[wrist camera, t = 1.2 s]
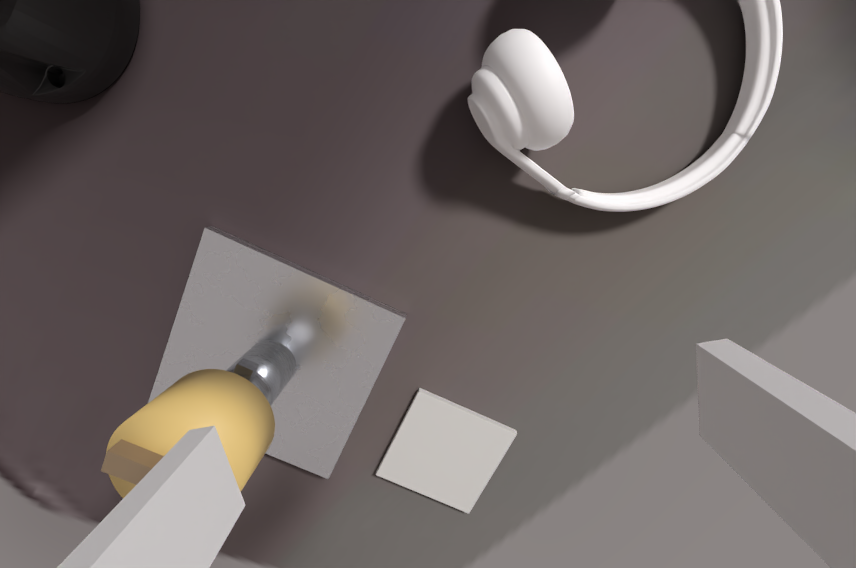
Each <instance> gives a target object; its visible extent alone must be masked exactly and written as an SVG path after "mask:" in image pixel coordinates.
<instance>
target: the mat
mask: <svg viewBox="0 0 856 568" xmlns="http://www.w3.org/2000/svg"><path fill="white" fill-rule="evenodd" d="M516 435H517V432H516V430H515V429H513V428H510V427H508V426H506V425H503V424H501V423H499V422H497V421H494V420H492V419H490V418H488V417H485V416H483V415H481V414H478V413H476V412H474V411H472V410H469V409H467V408H465V407H462V406H460V405H458V404H456V403H453V402H451V401H449V400H447V399H444V398H442V397H440V396H437V395H435V394H433V393H431V392H428V391H426V390H424V389H421V388H419V389H418V391H417V393H416V395H415V397H414V399H413V401H412V403H411V405H410V407H409V409H408V411H407V413H406V415H405V417H404V419H403V421H402V422H401V424H400V426H399V428H398V430H397V432H396V434H395V436H394V438H393V440H392V442H391V444H390V446H389V448H388V450H387V452H386V454H385V455H384V457H383V459H382V461H381V463H380V465H379V467H378V469H377V471H376V475H377V476H380V477H382V478H384V479H387V480H389V481H392V482H394V483H396V484H399V485H401V486H404V487H406V488H408V489H411V490H413V491H416V492H418V493H420V494H423V495H425V496H428V497H430V498H432V499H435V500H437V501H440V502H442V503H444V504H447V505H449V506H452V507H454V508H456V509H459V510H461V511H464V512H466V513H468V514H469V513H470V511H471V509H472V508H473V506H474V504H475V503H476V501H477V499H478V498H479V496H480V494H481V493H482V491H483V489H484V488H485V486H486V484H487V483H488V481H489V479H490V478H491V476H492V475H493V473H494V471H495V470H496V468H497V466H498V465H499V463H500V461H501V460H502V458H503V456H504V455H505V453H506V451H507V450H508V448H509V446H510V445H511V443H512V442H513V440H514V438H515V437H516Z"/></svg>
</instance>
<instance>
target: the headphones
mask: <svg viewBox="0 0 856 568" xmlns="http://www.w3.org/2000/svg"><path fill="white" fill-rule="evenodd" d="M738 1H739V4H740V7H741V11H742V15H743V20H744V26H745V34H746V59H745V68H744V75H743V80H742V85H741V89H740V93H739V96H738V100H737V103H736V106H735V108H734V111H733V113H732V116H731V118H730V120H729V122H728V124H727V126H726V128H725V130H724V132H723V133H722V135H721V136H720V137H719V138H718V139H717V140H716V142H715V143H714V144H713V145H712V146H711V147H710V148H709V149H708V150H707V151H706V152H705V153H704V154H703V155H702V156H701V157H700V158H699V159H697V160H696V161H695V162H694V163H692V164H691V165H690V166H688V167H687V168H685V169H684V170H682V171H681V172H679V173H678V174H676V175H674V176H672V177H670V178H669V179H667V180H664V181H662V182H660V183H658V184H655V185H653V186H650V187H647V188H643V189H640V190H635V191H630V192H624V193H595V192H590V191H586V190H582V189H577V188H572V190H571V189H568V188H566V187H565V186H564V185H562V184H561V183H560V182H558V181H557V180H556V179H555V178H553V177H552V176H551V175H549V174H548V173H547V172H546V171H544V170H543V169H542V168H540V167H539V166H538V165H537V164H535V163H534V162H533V161H532V160H530V159H529V158H528V157H527V156H525V155H524V154H523V153H521V152H520V150H521V149H523V148H527V149H530V150H535V151H537V150H543V149H548V148H550V147H552V146H554V145H556V144H558V143H559V142H560V141H561V140H562V139H563V138H565V137H566V136H567V134H568V132H569V130H570V128H571V126H572V124H573V121H574V108H573V102H572V98H571V94H570V90H569V87H568V85H567V82H566V80H565V77H564V75H563V73H562V71H561V69H560V67H559V65H558V63H557V61H556V60H555V58H554V56H553V55H552V53H551V52H550V50H549V49H548V48H547V46H546V45H545V44H544V43H543V42H542V40H541V39H540V38H539V37H537V36H536V35H535V34H534V33H532V32H531V31H529V30H526V29H511V30H509V31H507V32H505V33H503V34H501V35H499V36H498V37H497V38H496V39H495V40H494V41H493V42H492V43H491V44H490V45H489V47H488V48H487V50H486V52H485V53H484V56H483V60H482V68H481V69H479V70H478V71H477V72H475V74H474V76H473V77H472V80H471V84H472V94H471V95H470V96H469V97H468V106H469V109H470V111H471V114H472V116H473V118H474V120H475V122H476V124H477V126H478V128H479V129H480V131H481V132H482V134H483V135H484V137H485V138H486V139H487V141H488V142H489V143H490V144H491V145H492V146H493V147H494V148H496V149H497V150H498V151H499V152H500V153H502V154H503V155H504V156H505V157H507V158H508V159H509V160H511V161H512V162H513V163H514V164H516V165H517V166H518V167H520V168H521V169H522V170H524V171H525V172H526V173H527V174H529V175H530V176H531V177H533V178H534V179H535V180H537V181H538V182H539V183H541V184H542V185H543V186H545V188H546V190H547V191H549V192H550V193H552V194H554V195H556V196H558V197H559V198H561V199H564V200H567V201H568V202H571V203H574V204H576V205H579V206H582V207H586V208H590V209H595V210H601V211H611V212H626V211H637V210H644V209H649V208H653V207H657V206H661V205H664V204H667V203H670V202H672V201H675V200H677V199H679V198H682V197H684V196H686V195H688V194H690V193H692V192H693V191H695V190H697V189H698V188H700V187H702V186H703V185H705V184H706V183H708V182H709V181H710V180H712V179H713V178H715V177H716V176H717V175H718V174H720V173H721V172H722V171H723V170H724V169H725V168H726V167H727V166H728V165H729V164H730V163H731V162H732V161H733V160H734V159H735V157H736V156H737V155H738V154H739V153H740V151H741V150H742V149H743V148H744V146H745V145H746V144H747V142H748V141H749V139H750V138H751V136H752V135H753V133H754V132H755V130H756V128H757V127H758V125H759V123H760V122H761V120H762V118H763V116H764V114H765V112H766V110H767V109H768V106H769V104H770V101H771V98H772V96H773V93H774V89H775V85H776V81H777V77H778V73H779V68H780V61H781V53H782V38H783V28H782V13H781V6H780V0H738Z"/></svg>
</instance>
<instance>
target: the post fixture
mask: <svg viewBox="0 0 856 568" xmlns="http://www.w3.org/2000/svg"><path fill="white" fill-rule="evenodd" d="M406 315H407V314H406V313H404V312H401V311H399V310H397V309H395V308H393V307H390V306H388V305H386V304H384V303H382V302H379V301H377V300H375V299H373V298H370V297H368V296H366V295H364V294H362V293H359V292H357V291H355V290H353V289H351V288H348V287H346V286H344V285H342V284H340V283H337V282H335V281H333V280H331V279H329V278H326V277H324V276H322V275H320V274H318V273H315V272H313V271H311V270H309V269H306V268H304V267H302V266H300V265H298V264H295V263H293V262H291V261H289V260H287V259H284V258H282V257H280V256H278V255H276V254H273V253H271V252H269V251H267V250H265V249H262V248H260V247H258V246H256V245H254V244H251V243H249V242H247V241H245V240H242V239H240V238H238V237H236V236H234V235H231V234H229V233H227V232H225V231H223V230H220V229H218V228H216V227H214V226H211V227H206V228H205V229H204V232H203V235H202V238H201V241H200V244H199V247H198V250H197V253H196V257H195V260H194V263H193V266H192V269H191V272H190V275H189V278H188V281H187V284H186V287H185V291H184V294H183V297H182V300H181V303H180V306H179V309H178V312H177V315H176V318H175V321H174V325H173V328H172V331H171V334H170V337H169V340H168V343H167V346H166V349H165V352H164V356H163V359H162V362H161V365H160V368H159V371H158V374H157V377H156V380H155V383H154V386H153V390H152V393H151V396H150V399H149V402H151V401H152V400H153V399H154V398H156V397H157V396H158V395H160V394H161V393H162V392H164V391H165V390H166V389H167V388H169V387H170V386H171V385H173V384H174V383H175V382H177V381H178V380H179V379H180V378H182V377H183V376H185V375H187V374H189V373H191V372H194V371H198V370H203V369H219V370H225V371H229V372H232V373H235V374H238V375H240V376H242V377H244V378H245V379H247V380H248V381H250V382H251V383H253V384H254V385H255V386H256V387H257V388H258V389H259V390H260V391H261V392H262V393H263V394H264V396H265V397H266V399H267V400H268V402H269V404H270V406H271V408H272V411H273V414H274V419H275V432H274V437H273V440H272V443H271V444H270V446H269V448H268V450H267V451H266V454H268V455H271V456H273V457H275V458H278V459H280V460H283V461H285V462H288V463H290V464H292V465H295V466H297V467H300V468H302V469H304V470H307V471H309V472H312V473H314V474H317V475H319V476H321V477H324V478H326V479H329V477H330V474H331V472H332V470H333V468H334V466H335V464H336V462H337V460H338V458H339V456H340V454H341V452H342V450H343V447H344V445H345V443H346V441H347V439H348V437H349V435H350V433H351V431H352V429H353V427H354V425H355V423H356V420H357V418H358V416H359V414H360V412H361V410H362V408H363V406H364V404H365V402H366V400H367V398H368V396H369V393H370V391H371V389H372V387H373V385H374V383H375V381H376V379H377V377H378V375H379V373H380V371H381V369H382V366H383V364H384V362H385V360H386V358H387V356H388V354H389V352H390V350H391V348H392V346H393V344H394V341H395V339H396V337H397V335H398V333H399V331H400V329H401V327H402V325H403V323H404V321H405V319H406ZM149 402H148V403H149Z"/></svg>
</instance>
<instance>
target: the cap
mask: <svg viewBox="0 0 856 568" xmlns="http://www.w3.org/2000/svg"><path fill="white" fill-rule="evenodd" d="M210 426H215V427H216V430H217V432H218V435H219V438H220V440H221V443H222V445H223V448H224V451H225V453H226V456H227V458H228V461H229V464H230V466H231V469H232V472H233V474H234V477H235V479H236V482H237V485H238V487H239V490H240V492H241V490H242V489H243V487H244V486H245V484H246V483H247V481H248V479H249V478H250V476H251V475H252V473H253V472H254V470H255V468H256V467H257V465H258V464H259V462H260V461H261V459H262V458H263V456H264V454H265V453H266V451H267V450H268V448H269V446H270V444H271V443H272V440H273V437H274V432H275V419H274V414H273V411H272V408H271V406H270V404H269V402H268V400H267V399H266V397H265V396H264V394H263V393H262V392H261V391H260V390H259V389H258V388H257V387H256V386H255V385H254V384H253V383H251V382H250V381H248V380H247V379H245V378H244V377H242V376H240V375H238V374H235V373H232V372H229V371H225V370H219V369H203V370H198V371H194V372H191V373H189V374H187V375H185V376H183V377H182V378H180V379H179V380H178V381H177V382H175V383H174V384H173V385H171V386H170V387H169V388H167V389H166V390H165V391H164V392H162V393H161V394H160V395H158V396H157V397H156V398H154V399H153V400H152V401H151V402H149V403H148V404H147V405H145V406H144V407H143V408H142V409H140V410H139V411H138V412H136V413H135V414H134V415H132V416H131V417H130V418H129V419H127V420H126V421H125V422H124V423H122V424H121V425H120V426H119V427H118V428H117V429H116V430H115V432H114V433H113V435H112V436H111V438H110V441H109V443H108V446H107V451H106V456H105V459H104V463H103V466H102V469H101V471H102V472H105V473H107V474H109V477H110V479H111V482H112V483H113V485H114V487H115V489H116V490H117V492H118V493H119V494H120V496H121V497H122V498H124V497H125V496H126V495H127V494H128V493H129V492H130V491H131V490H132V489H133V488H134V487H135V486H136V485H137V484H138V483H139V482H140V481H141V480H142V479H143V478H144V477H145V476H146V474H147V473H148V472H149V471H150V470H151V469H152V468H153V467H154V466H155V465H156V464H157V463H158V462H159V461H160V460H161V459H162V458H163V457H164V456H165V455H166V454H167V453H168V452H169V451H170V450H171V448H172V447H173V446H174V445H175V444H176V443H177V442H178V441H179V440H180V439H181V438H182V437H183V436H184V435H185V434H186V433H187V432H188V431H189V430H192V429H198V428H204V427H210Z"/></svg>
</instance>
